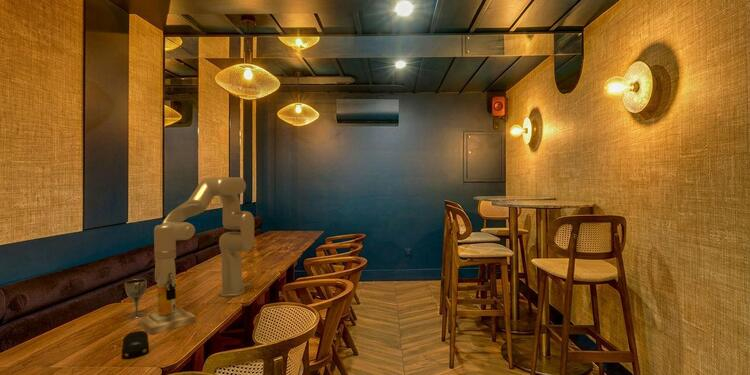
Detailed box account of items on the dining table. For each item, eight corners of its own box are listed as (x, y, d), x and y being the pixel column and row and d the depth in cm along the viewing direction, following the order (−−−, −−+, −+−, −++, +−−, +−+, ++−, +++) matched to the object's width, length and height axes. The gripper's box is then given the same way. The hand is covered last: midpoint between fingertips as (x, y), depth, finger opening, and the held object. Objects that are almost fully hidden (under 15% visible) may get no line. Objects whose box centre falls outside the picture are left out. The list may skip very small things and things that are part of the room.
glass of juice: (163, 311, 150) (161, 275, 150) (178, 310, 151) (177, 274, 150) (155, 316, 144) (154, 279, 144) (171, 315, 144) (170, 278, 144)
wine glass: (151, 313, 159) (150, 279, 159) (133, 319, 152) (132, 284, 152) (140, 311, 162) (139, 277, 162) (121, 317, 155) (120, 282, 155)
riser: (180, 313, 158) (180, 304, 158) (195, 322, 148) (195, 312, 148) (138, 324, 146) (138, 314, 146) (151, 335, 136) (151, 324, 136)
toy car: (121, 362, 116) (121, 346, 116) (123, 343, 130) (122, 329, 130) (149, 355, 120) (148, 340, 120) (147, 338, 134) (147, 324, 134)
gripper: (147, 254, 150) (148, 295, 150) (163, 259, 138) (164, 303, 138) (167, 251, 155) (168, 291, 155) (183, 256, 144) (184, 298, 144)
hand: (166, 296), depth 147 cm, fingers open, 9 cm apart
